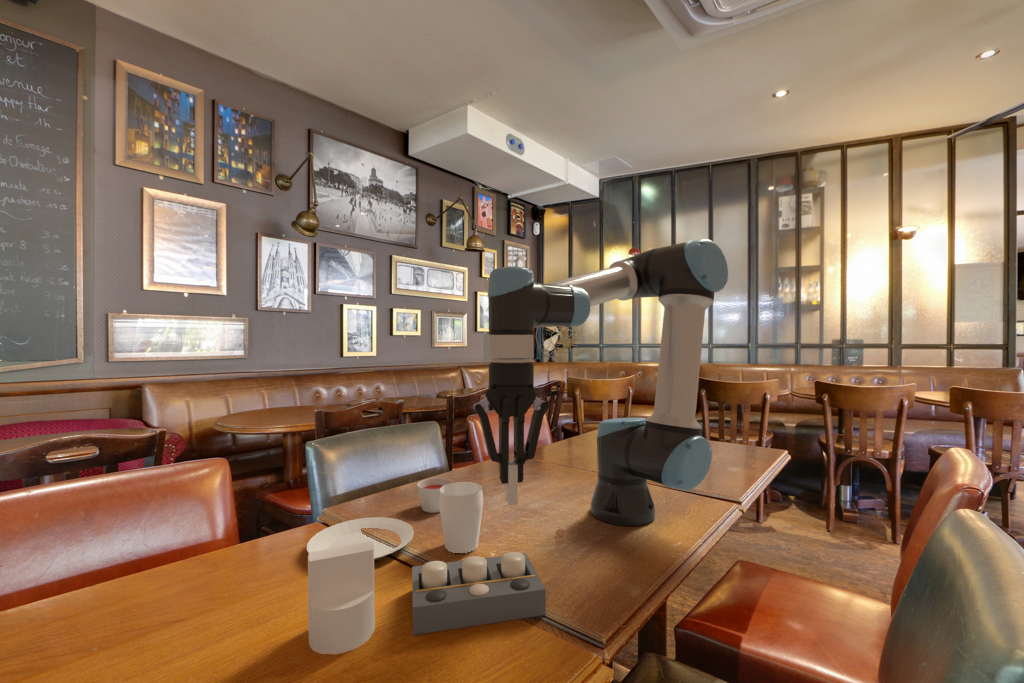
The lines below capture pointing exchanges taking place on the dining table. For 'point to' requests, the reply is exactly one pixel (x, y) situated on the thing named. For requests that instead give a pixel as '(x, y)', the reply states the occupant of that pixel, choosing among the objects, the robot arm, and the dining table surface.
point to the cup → (461, 515)
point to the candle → (431, 493)
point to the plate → (360, 535)
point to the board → (476, 598)
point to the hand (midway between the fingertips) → (511, 501)
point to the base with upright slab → (341, 598)
